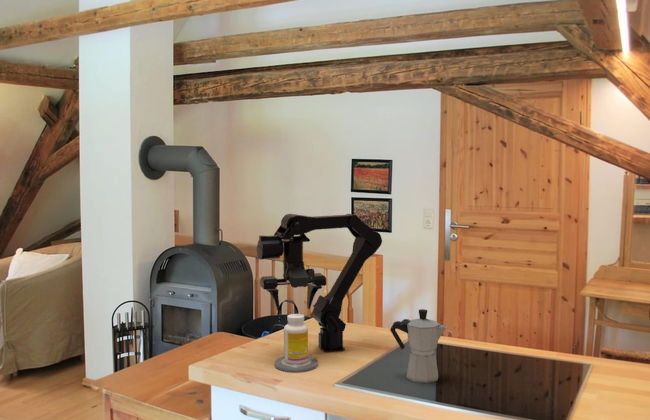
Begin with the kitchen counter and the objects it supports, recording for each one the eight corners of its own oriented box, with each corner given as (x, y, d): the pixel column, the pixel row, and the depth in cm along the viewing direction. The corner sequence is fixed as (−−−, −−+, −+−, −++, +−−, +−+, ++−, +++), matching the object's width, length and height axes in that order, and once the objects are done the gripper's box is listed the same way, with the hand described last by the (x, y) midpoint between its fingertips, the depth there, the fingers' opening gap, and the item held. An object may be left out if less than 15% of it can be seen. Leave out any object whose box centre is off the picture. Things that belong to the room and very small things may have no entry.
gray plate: (310, 356, 180) (310, 352, 179) (323, 369, 168) (323, 365, 168) (270, 360, 176) (270, 356, 176) (280, 374, 165) (280, 370, 164)
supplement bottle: (312, 362, 171) (312, 316, 170) (291, 366, 168) (291, 320, 166) (300, 355, 177) (300, 311, 176) (280, 359, 173) (279, 314, 172)
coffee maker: (448, 373, 165) (449, 307, 163) (445, 385, 156) (446, 315, 155) (392, 368, 169) (392, 304, 167) (387, 380, 160) (387, 311, 159)
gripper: (267, 263, 169) (268, 319, 171) (332, 260, 175) (332, 314, 176) (259, 257, 180) (260, 310, 181) (320, 254, 185) (320, 305, 187)
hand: (293, 310), depth 181 cm, fingers open, 9 cm apart
